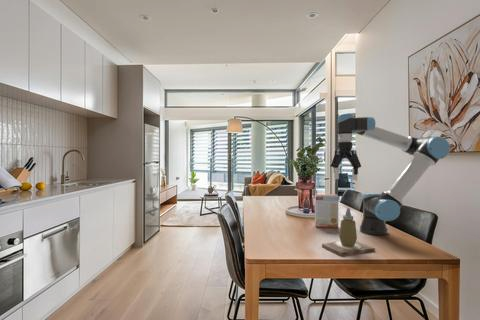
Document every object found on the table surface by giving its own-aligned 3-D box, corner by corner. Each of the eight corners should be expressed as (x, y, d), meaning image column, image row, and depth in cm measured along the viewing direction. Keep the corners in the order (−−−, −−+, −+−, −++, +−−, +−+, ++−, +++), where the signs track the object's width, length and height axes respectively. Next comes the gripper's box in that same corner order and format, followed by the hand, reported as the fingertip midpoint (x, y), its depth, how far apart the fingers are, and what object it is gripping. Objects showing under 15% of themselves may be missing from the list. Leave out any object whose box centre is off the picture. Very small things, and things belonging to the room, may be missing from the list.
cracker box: (336, 225, 184) (336, 194, 184) (338, 228, 178) (338, 195, 178) (314, 225, 185) (314, 193, 185) (315, 227, 179) (316, 194, 179)
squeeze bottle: (352, 242, 142) (352, 206, 142) (359, 247, 134) (360, 209, 134) (336, 242, 142) (337, 206, 141) (343, 247, 134) (343, 209, 133)
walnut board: (353, 242, 148) (353, 239, 148) (375, 251, 135) (375, 247, 135) (321, 246, 141) (321, 243, 141) (341, 256, 128) (341, 251, 128)
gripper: (324, 142, 167) (324, 178, 167) (357, 140, 144) (357, 181, 144) (334, 143, 170) (334, 178, 170) (368, 140, 147) (368, 181, 147)
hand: (345, 179), depth 157 cm, fingers open, 13 cm apart
